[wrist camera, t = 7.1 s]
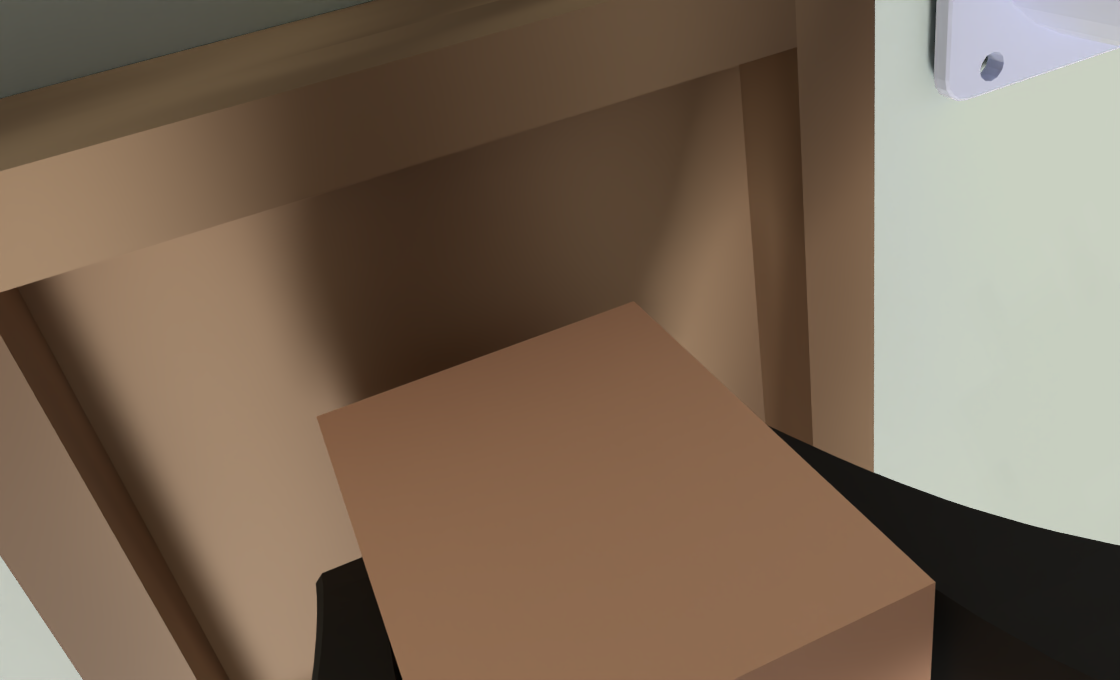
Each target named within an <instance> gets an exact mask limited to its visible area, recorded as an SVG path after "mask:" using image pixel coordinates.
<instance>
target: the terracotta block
mask: <svg viewBox="0 0 1120 680" xmlns="http://www.w3.org/2000/svg"><path fill="white" fill-rule="evenodd" d="M317 420H318V423H319V426H320V429H321V432H322V436H323V439H324V442H325V445H326V448H327V451H328V454H329V457H330V460H331V463H332V466H333V469H334V472H335V475H336V478H337V481H338V484H339V487H340V490H341V493H342V496H343V500H344V503H345V506H346V509H347V512H348V515H349V518H350V521H351V524H352V527H353V530H354V533H355V536H356V539H357V542H358V545H359V548H360V551H361V554H362V557H363V560H364V564H365V567H366V570H367V573H368V576H369V579H370V582H371V585H372V588H373V591H374V594H375V597H376V600H377V603H378V606H379V609H380V612H381V615H382V618H383V621H384V624H385V628H386V631H387V634H388V637H389V640H390V643H391V646H392V649H393V652H394V655H395V658H396V661H397V664H398V667H399V670H400V673H401V676H402V679H403V680H931V661H932V642H933V622H934V602H935V583H936V582H935V581H934V580H933V579H932V578H930V577H929V576H928V575H927V574H926V573H925V572H924V571H923V570H922V569H921V568H920V567H919V566H918V565H917V564H915V563H914V562H913V561H912V560H911V559H910V558H909V557H908V556H907V555H906V554H905V553H904V552H903V551H901V550H900V549H899V548H898V547H897V546H896V545H895V544H894V543H893V542H892V541H891V540H890V539H889V538H888V537H886V536H885V535H884V534H883V533H882V532H881V531H880V530H879V529H878V528H877V527H876V526H875V525H874V524H873V523H871V522H870V521H869V520H868V519H867V518H866V517H865V516H864V515H863V514H862V513H861V512H860V511H859V510H857V509H856V508H855V507H854V506H853V505H852V504H851V503H850V502H849V501H848V500H847V499H846V498H845V497H844V496H842V495H841V494H840V493H839V492H838V491H837V490H836V489H835V488H834V487H833V486H832V485H831V484H830V483H829V482H827V481H826V480H825V479H824V478H823V477H822V476H821V475H820V474H819V473H818V472H817V471H816V470H815V469H813V468H812V467H811V466H810V465H809V464H808V463H807V462H806V461H805V460H804V459H803V458H802V457H801V456H800V455H798V454H797V453H796V452H795V451H794V450H793V449H792V448H791V447H790V446H789V445H788V444H787V443H786V442H785V441H783V440H782V439H781V438H780V437H779V436H778V435H777V434H776V433H775V432H774V431H773V430H772V429H771V428H770V427H768V426H767V425H766V424H765V423H764V422H763V421H762V420H761V419H760V418H759V417H758V416H757V415H756V414H754V413H753V412H752V411H751V410H750V409H749V408H748V407H747V406H746V405H745V404H744V403H743V402H742V401H741V400H739V399H738V398H737V397H736V396H735V395H734V394H733V393H732V392H731V391H730V390H729V389H728V388H727V387H726V386H724V385H723V384H722V383H721V382H720V381H719V380H718V379H717V378H716V377H715V376H714V375H713V374H712V373H710V372H709V371H708V370H707V369H706V368H705V367H704V366H703V365H702V364H701V363H700V362H699V361H698V360H697V359H695V358H694V357H693V356H692V355H691V354H690V353H689V352H688V351H687V350H686V349H685V348H684V347H683V346H682V345H680V344H679V343H678V342H677V341H676V340H675V339H674V338H673V337H672V336H671V335H670V334H669V333H668V332H666V331H665V330H664V329H663V328H662V327H661V326H660V325H659V324H658V323H657V322H656V321H655V320H654V319H653V318H651V317H650V316H649V315H648V314H647V313H646V312H645V311H644V310H643V309H642V308H641V307H640V306H639V305H638V304H636V303H635V302H634V301H633V302H630V303H627V304H624V305H622V306H619V307H616V308H613V309H611V310H608V311H605V312H602V313H600V314H597V315H594V316H591V317H589V318H586V319H583V320H580V321H578V322H575V323H572V324H569V325H567V326H564V327H561V328H558V329H556V330H553V331H550V332H547V333H545V334H542V335H539V336H536V337H534V338H531V339H528V340H525V341H523V342H520V343H517V344H514V345H512V346H509V347H506V348H503V349H501V350H498V351H495V352H492V353H490V354H487V355H484V356H481V357H479V358H476V359H473V360H471V361H468V362H465V363H462V364H460V365H457V366H454V367H451V368H449V369H446V370H443V371H440V372H438V373H435V374H432V375H429V376H427V377H424V378H421V379H418V380H416V381H413V382H410V383H407V384H405V385H402V386H399V387H396V388H394V389H391V390H388V391H385V392H383V393H380V394H377V395H374V396H372V397H369V398H366V399H363V400H361V401H358V402H355V403H352V404H350V405H347V406H344V407H341V408H339V409H336V410H333V411H330V412H328V413H325V414H322V415H319V416H317Z"/></svg>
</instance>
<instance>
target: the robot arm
mask: <svg viewBox="0 0 1120 680" xmlns="http://www.w3.org/2000/svg"><path fill="white" fill-rule="evenodd" d="M1118 48H1120V0H937V4H936V32H935V60H934V82H935V87H936V89H937V90H938V92H939V94H941V95H943V96H945V97H948V98H951V99H954V100H957V101H962V100H968V99H971V98H974V97H977V96H980V95H983V94H986V93H989V92H991V91H994V90H997V89H1000V88H1003V87H1006V86H1009V85H1012V84H1015V83H1018V82H1021V81H1024V80H1027V79H1030V78H1033V77H1036V76H1039V75H1041V74H1044V73H1047V72H1050V71H1053V70H1056V69H1059V68H1062V67H1065V66H1068V65H1071V64H1074V63H1077V62H1080V61H1083V60H1086V59H1089V58H1092V57H1094V56H1097V55H1100V54H1103V53H1106V52H1109V51H1112V50H1115V49H1118ZM987 56H988V60H987V64H986V66H985V68H984V69H983V71H982V72H981V73H980V69H981V66H982V62H983V61H984V59H985V58H986V57H987ZM767 426H768V425H767ZM768 427H770V426H768ZM770 428H771V429H772V430H773V431H774V432H775V433H776V434H777V435H778V436H779V437H780V438H781V439H782V440H783V441H785V442H786V443H787V444H788V445H789V446H790V447H791V448H792V449H793V450H794V451H795V452H796V453H797V454H798V455H800V456H801V457H802V458H803V459H804V460H805V461H806V462H807V463H808V464H809V465H810V466H811V467H812V468H813V469H815V470H816V471H817V472H818V473H819V474H820V475H821V476H822V477H823V478H824V479H825V480H826V481H827V482H829V483H830V484H831V485H832V486H833V487H834V488H835V489H836V490H837V491H838V492H839V493H840V494H841V495H842V496H844V497H845V498H846V499H847V500H848V501H849V502H850V503H851V504H852V505H853V506H854V507H855V508H856V509H857V510H859V511H860V512H861V513H862V514H863V515H864V516H865V517H866V518H867V519H868V520H869V521H870V522H871V523H873V524H874V525H875V526H876V527H877V528H878V529H879V530H880V531H881V532H882V533H883V534H884V535H885V536H886V537H888V538H889V539H890V540H891V541H892V542H893V543H894V544H895V545H896V546H897V547H898V548H899V549H900V550H901V551H903V552H904V553H905V554H906V555H907V556H908V557H909V558H910V559H911V560H912V561H913V562H914V563H915V564H917V565H918V566H919V567H920V568H921V569H922V570H923V571H924V572H925V573H926V574H927V575H928V576H929V577H930V578H932V579H933V580H934V581H935V582H936V583H935V602H934V622H933V642H932V661H931V680H1120V545H1114V544H1110V543H1105V542H1101V541H1096V540H1091V539H1087V538H1082V537H1078V536H1073V535H1069V534H1064V533H1060V532H1055V531H1051V530H1047V529H1043V528H1039V527H1035V526H1031V525H1028V524H1024V523H1020V522H1017V521H1014V520H1010V519H1007V518H1003V517H1000V516H996V515H993V514H990V513H986V512H983V511H979V510H976V509H972V508H969V507H966V506H963V505H960V504H957V503H954V502H951V501H948V500H945V499H942V498H940V497H937V496H934V495H931V494H929V493H926V492H923V491H920V490H918V489H915V488H912V487H910V486H907V485H904V484H901V483H899V482H896V481H894V480H891V479H889V478H886V477H884V476H881V475H879V474H876V473H874V472H871V471H869V470H866V469H864V468H862V467H859V466H857V465H854V464H852V463H850V462H848V461H845V460H843V459H841V458H838V457H836V456H834V455H831V454H829V453H827V452H825V451H822V450H820V449H818V448H816V447H814V446H811V445H809V444H807V443H805V442H803V441H801V440H798V439H796V438H794V437H792V436H790V435H787V434H785V433H783V432H781V431H779V430H777V429H775V428H772V427H770ZM316 594H317V627H316V642H315V654H314V665H313V673H312V680H403V679H402V676H401V673H400V670H399V667H398V664H397V661H396V658H395V655H394V652H393V649H392V646H391V643H390V640H389V637H388V634H387V631H386V628H385V624H384V621H383V618H382V615H381V612H380V609H379V606H378V603H377V600H376V597H375V594H374V591H373V588H372V585H371V582H370V579H369V576H368V573H367V570H366V567H365V564H364V560H363V557H361V558H358V559H356V560H353V561H351V562H348V563H346V564H344V565H341V566H339V567H336V568H334V569H331V570H329V571H326V572H324V573H322V574H321V576H320V577H319V579H318V580H317V582H316Z"/></svg>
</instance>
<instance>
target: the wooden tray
mask: <svg viewBox="0 0 1120 680" xmlns="http://www.w3.org/2000/svg"><path fill="white" fill-rule="evenodd" d="M874 97H875V0H374V1H371V2H367V3H363V4H359V5H355V6H351V7H348V8H344V9H340V10H336V11H332V12H329V13H325V14H321V15H317V16H313V17H310V18H306V19H302V20H298V21H294V22H291V23H287V24H283V25H279V26H275V27H271V28H268V29H264V30H260V31H256V32H252V33H249V34H245V35H241V36H237V37H233V38H230V39H226V40H222V41H218V42H214V43H211V44H207V45H203V46H199V47H195V48H191V49H188V50H184V51H180V52H176V53H172V54H169V55H165V56H161V57H157V58H153V59H150V60H146V61H142V62H138V63H134V64H131V65H127V66H123V67H119V68H115V69H111V70H108V71H104V72H100V73H96V74H92V75H89V76H85V77H81V78H77V79H73V80H70V81H66V82H62V83H58V84H54V85H51V86H47V87H43V88H39V89H35V90H31V91H28V92H24V93H20V94H16V95H12V96H9V97H5V98H1V99H0V556H1V557H2V559H3V560H4V562H5V563H6V565H7V566H8V568H9V569H10V571H11V572H12V574H13V575H14V577H15V578H16V580H17V581H18V583H19V584H20V586H21V587H22V589H23V590H24V592H25V593H26V595H27V596H28V598H29V599H30V601H31V602H32V604H33V605H34V607H35V608H36V610H37V611H38V613H39V614H40V616H41V617H42V619H43V620H44V622H45V623H46V625H47V626H48V628H49V629H50V631H51V632H52V634H53V635H54V637H55V638H56V640H57V641H58V643H59V644H60V646H61V647H62V649H63V650H64V652H65V653H66V655H67V656H68V658H69V659H70V661H71V662H72V664H73V665H74V667H75V668H76V670H77V671H78V673H79V674H80V676H81V677H82V679H83V680H312V673H313V665H314V654H315V642H316V627H317V594H316V582H317V580H318V579H319V577H320V576H321V574H322V573H324V572H326V571H329V570H331V569H334V568H336V567H339V566H341V565H344V564H346V563H348V562H351V561H353V560H356V559H358V558H361V557H362V554H361V551H360V548H359V545H358V542H357V539H356V536H355V533H354V530H353V527H352V524H351V521H350V518H349V515H348V512H347V509H346V506H345V503H344V500H343V496H342V493H341V490H340V487H339V484H338V481H337V478H336V475H335V472H334V469H333V466H332V463H331V460H330V457H329V454H328V451H327V448H326V445H325V442H324V439H323V436H322V432H321V429H320V426H319V423H318V420H317V416H319V415H322V414H325V413H328V412H330V411H333V410H336V409H339V408H341V407H344V406H347V405H350V404H352V403H355V402H358V401H361V400H363V399H366V398H369V397H372V396H374V395H377V394H380V393H383V392H385V391H388V390H391V389H394V388H396V387H399V386H402V385H405V384H407V383H410V382H413V381H416V380H418V379H421V378H424V377H427V376H429V375H432V374H435V373H438V372H440V371H443V370H446V369H449V368H451V367H454V366H457V365H460V364H462V363H465V362H468V361H471V360H473V359H476V358H479V357H481V356H484V355H487V354H490V353H492V352H495V351H498V350H501V349H503V348H506V347H509V346H512V345H514V344H517V343H520V342H523V341H525V340H528V339H531V338H534V337H536V336H539V335H542V334H545V333H547V332H550V331H553V330H556V329H558V328H561V327H564V326H567V325H569V324H572V323H575V322H578V321H580V320H583V319H586V318H589V317H591V316H594V315H597V314H600V313H602V312H605V311H608V310H611V309H613V308H616V307H619V306H622V305H624V304H627V303H630V302H633V301H634V302H635V303H636V304H638V305H639V306H640V307H641V308H642V309H643V310H644V311H645V312H646V313H647V314H648V315H649V316H650V317H651V318H653V319H654V320H655V321H656V322H657V323H658V324H659V325H660V326H661V327H662V328H663V329H664V330H665V331H666V332H668V333H669V334H670V335H671V336H672V337H673V338H674V339H675V340H676V341H677V342H678V343H679V344H680V345H682V346H683V347H684V348H685V349H686V350H687V351H688V352H689V353H690V354H691V355H692V356H693V357H694V358H695V359H697V360H698V361H699V362H700V363H701V364H702V365H703V366H704V367H705V368H706V369H707V370H708V371H709V372H710V373H712V374H713V375H714V376H715V377H716V378H717V379H718V380H719V381H720V382H721V383H722V384H723V385H724V386H726V387H727V388H728V389H729V390H730V391H731V392H732V393H733V394H734V395H735V396H736V397H737V398H738V399H739V400H741V401H742V402H743V403H744V404H745V405H746V406H747V407H748V408H749V409H750V410H751V411H752V412H753V413H754V414H756V415H757V416H758V417H759V418H760V419H761V420H762V421H763V422H764V423H765V424H766V425H768V426H770V427H772V428H775V429H777V430H779V431H781V432H783V433H785V434H787V435H790V436H792V437H794V438H796V439H798V440H801V441H803V442H805V443H807V444H809V445H811V446H814V447H816V448H818V449H820V450H822V451H825V452H827V453H829V454H831V455H834V456H836V457H838V458H841V459H843V460H845V461H848V462H850V463H852V464H854V465H857V466H859V467H862V468H864V469H866V470H869V471H871V472H874Z"/></svg>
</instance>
